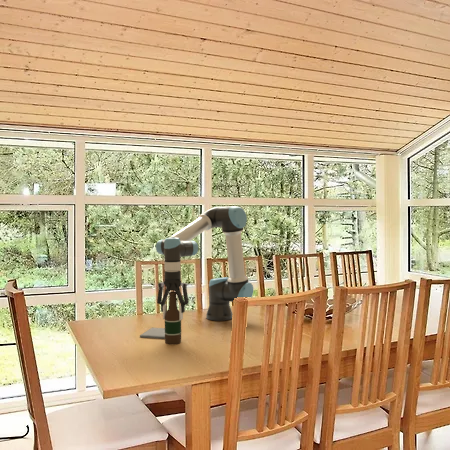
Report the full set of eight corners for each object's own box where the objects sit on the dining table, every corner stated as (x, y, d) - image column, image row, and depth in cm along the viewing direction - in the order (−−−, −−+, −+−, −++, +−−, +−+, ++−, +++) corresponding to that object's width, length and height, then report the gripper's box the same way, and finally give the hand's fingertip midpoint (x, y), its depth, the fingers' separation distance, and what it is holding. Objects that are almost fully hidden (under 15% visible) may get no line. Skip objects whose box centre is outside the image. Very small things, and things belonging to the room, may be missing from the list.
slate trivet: (181, 331, 246) (181, 329, 246) (170, 339, 230) (170, 337, 230) (152, 329, 249) (152, 327, 249) (139, 337, 234) (139, 335, 234)
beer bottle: (166, 345, 220) (165, 293, 219) (163, 341, 227) (163, 290, 227) (182, 344, 222) (182, 292, 221) (179, 339, 229) (179, 290, 229)
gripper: (195, 270, 225) (196, 318, 226) (155, 269, 230) (155, 316, 230) (190, 272, 218) (191, 322, 218) (149, 271, 222) (149, 319, 223)
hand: (172, 319), depth 224 cm, fingers closed on beer bottle, 7 cm apart
